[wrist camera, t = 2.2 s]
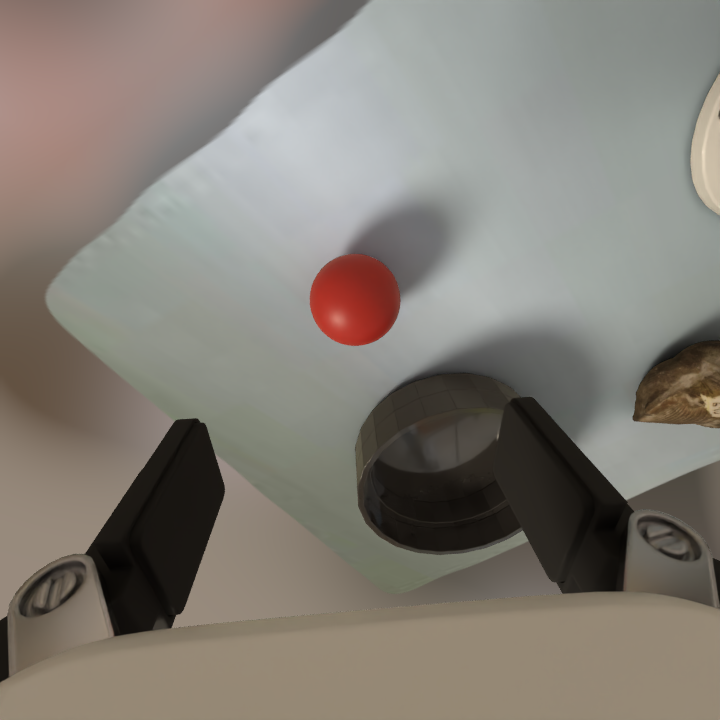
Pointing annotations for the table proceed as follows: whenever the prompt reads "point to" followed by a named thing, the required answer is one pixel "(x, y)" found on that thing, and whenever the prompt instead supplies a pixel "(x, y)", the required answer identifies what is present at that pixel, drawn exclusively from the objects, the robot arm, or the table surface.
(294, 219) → the table surface
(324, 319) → the red ball
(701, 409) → the fossilized seashell
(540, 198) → the table surface
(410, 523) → the bowl
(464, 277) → the table surface
